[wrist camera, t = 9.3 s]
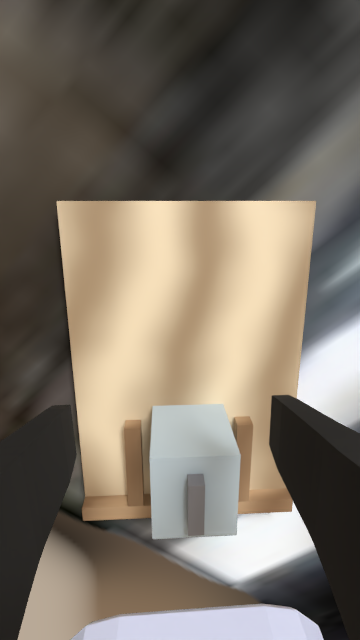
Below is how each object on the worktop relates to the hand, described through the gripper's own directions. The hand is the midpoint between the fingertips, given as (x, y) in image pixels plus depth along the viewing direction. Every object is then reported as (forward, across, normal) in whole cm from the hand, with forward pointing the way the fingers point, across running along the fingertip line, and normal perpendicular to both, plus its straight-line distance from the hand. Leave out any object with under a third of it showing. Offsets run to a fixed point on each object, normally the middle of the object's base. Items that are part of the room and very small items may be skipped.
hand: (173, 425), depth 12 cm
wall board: (+10, -1, +2) cm, 10 cm away
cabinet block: (+8, -1, +7) cm, 11 cm away
